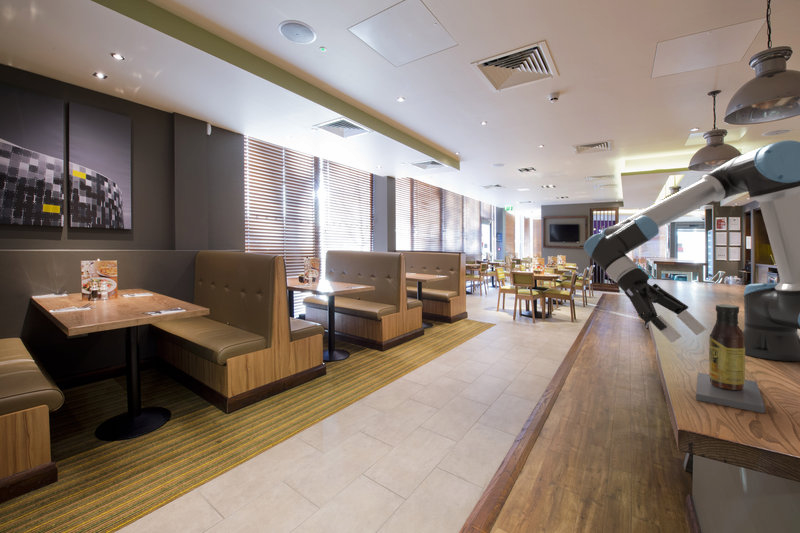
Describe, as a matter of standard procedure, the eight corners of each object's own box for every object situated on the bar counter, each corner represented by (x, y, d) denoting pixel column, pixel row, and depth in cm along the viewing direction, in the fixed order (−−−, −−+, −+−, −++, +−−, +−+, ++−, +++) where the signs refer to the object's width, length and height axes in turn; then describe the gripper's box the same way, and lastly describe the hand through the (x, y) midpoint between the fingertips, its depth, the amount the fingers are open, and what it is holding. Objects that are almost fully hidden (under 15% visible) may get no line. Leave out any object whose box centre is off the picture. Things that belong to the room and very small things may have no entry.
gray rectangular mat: (697, 377, 93) (697, 372, 93) (756, 387, 86) (756, 381, 86) (696, 400, 80) (696, 393, 80) (764, 413, 73) (764, 406, 72)
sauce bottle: (708, 380, 88) (708, 302, 87) (742, 385, 84) (742, 304, 83) (710, 388, 83) (710, 306, 82) (747, 394, 79) (747, 307, 78)
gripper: (640, 281, 110) (699, 337, 97) (593, 286, 98) (652, 351, 85) (659, 264, 105) (723, 321, 92) (612, 268, 93) (677, 334, 81)
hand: (689, 335), depth 89 cm, fingers open, 13 cm apart
